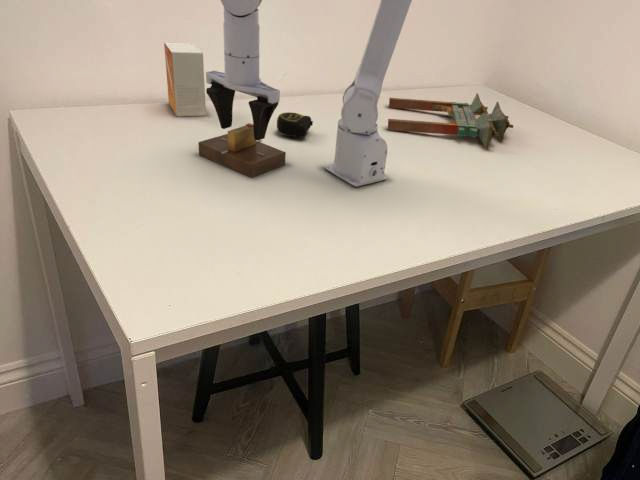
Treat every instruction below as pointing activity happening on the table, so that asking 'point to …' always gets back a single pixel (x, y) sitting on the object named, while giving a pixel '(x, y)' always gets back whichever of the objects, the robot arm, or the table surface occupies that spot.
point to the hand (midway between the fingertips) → (242, 133)
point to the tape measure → (293, 124)
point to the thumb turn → (241, 138)
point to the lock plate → (242, 156)
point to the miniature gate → (454, 119)
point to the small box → (185, 78)
